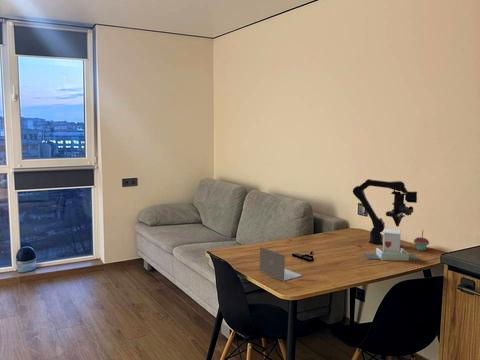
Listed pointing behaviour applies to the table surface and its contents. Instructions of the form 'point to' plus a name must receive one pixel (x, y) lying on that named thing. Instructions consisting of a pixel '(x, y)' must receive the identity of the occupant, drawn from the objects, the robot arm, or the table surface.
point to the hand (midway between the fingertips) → (397, 226)
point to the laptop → (275, 265)
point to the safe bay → (392, 256)
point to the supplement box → (391, 241)
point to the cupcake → (421, 243)
